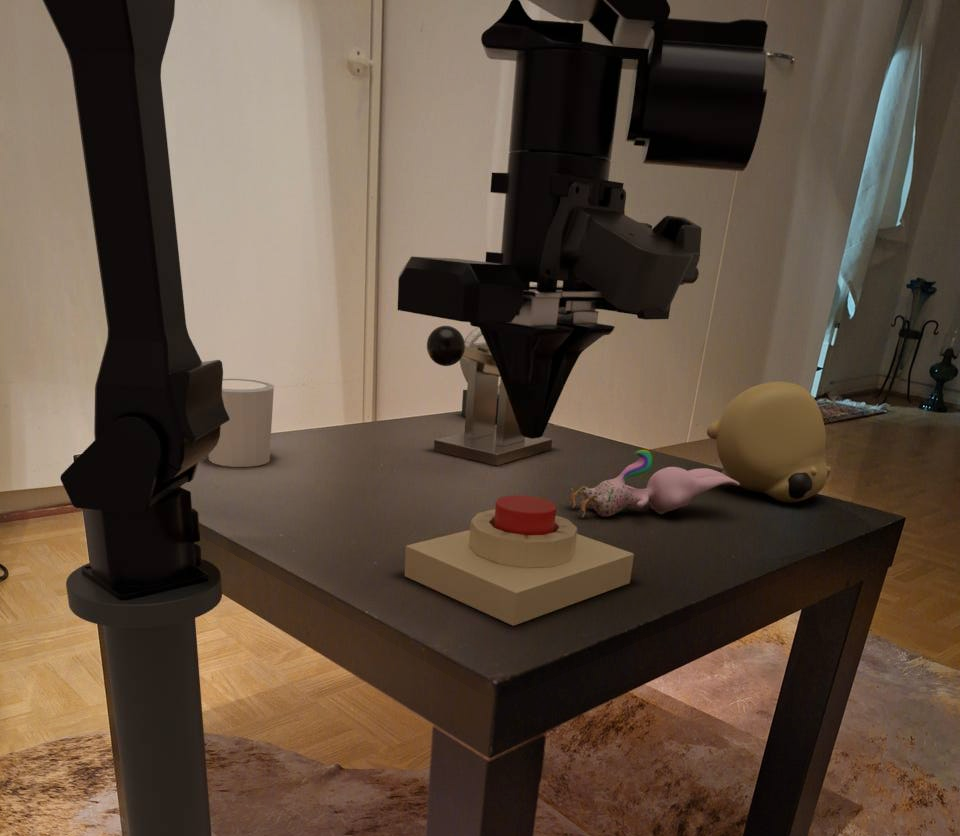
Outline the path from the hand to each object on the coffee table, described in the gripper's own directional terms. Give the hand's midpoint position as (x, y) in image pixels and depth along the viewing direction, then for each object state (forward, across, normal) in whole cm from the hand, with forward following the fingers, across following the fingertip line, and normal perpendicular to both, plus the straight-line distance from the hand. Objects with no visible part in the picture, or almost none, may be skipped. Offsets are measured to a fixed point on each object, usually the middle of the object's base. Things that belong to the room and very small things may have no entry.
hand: (531, 437), depth 55 cm
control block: (+10, 0, 0) cm, 10 cm away
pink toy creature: (+10, +22, +4) cm, 25 cm away
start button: (+6, 0, 0) cm, 6 cm away
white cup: (+10, +1, +37) cm, 38 cm away
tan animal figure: (+10, +38, +2) cm, 39 cm away
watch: (+10, +38, +40) cm, 56 cm away
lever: (+1, +21, +27) cm, 34 cm away
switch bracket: (+10, +26, +28) cm, 39 cm away
